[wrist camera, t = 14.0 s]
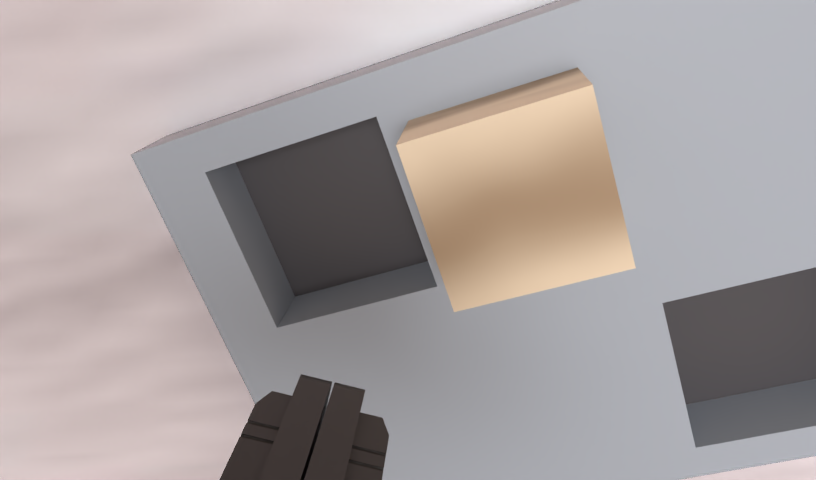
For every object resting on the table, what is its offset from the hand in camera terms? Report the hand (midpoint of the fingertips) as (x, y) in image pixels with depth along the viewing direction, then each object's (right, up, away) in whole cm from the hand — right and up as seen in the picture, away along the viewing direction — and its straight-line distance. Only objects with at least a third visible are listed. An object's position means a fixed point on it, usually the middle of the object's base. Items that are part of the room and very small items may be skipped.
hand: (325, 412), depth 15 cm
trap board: (+10, +4, +13) cm, 16 cm away
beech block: (+6, +6, +9) cm, 12 cm away
